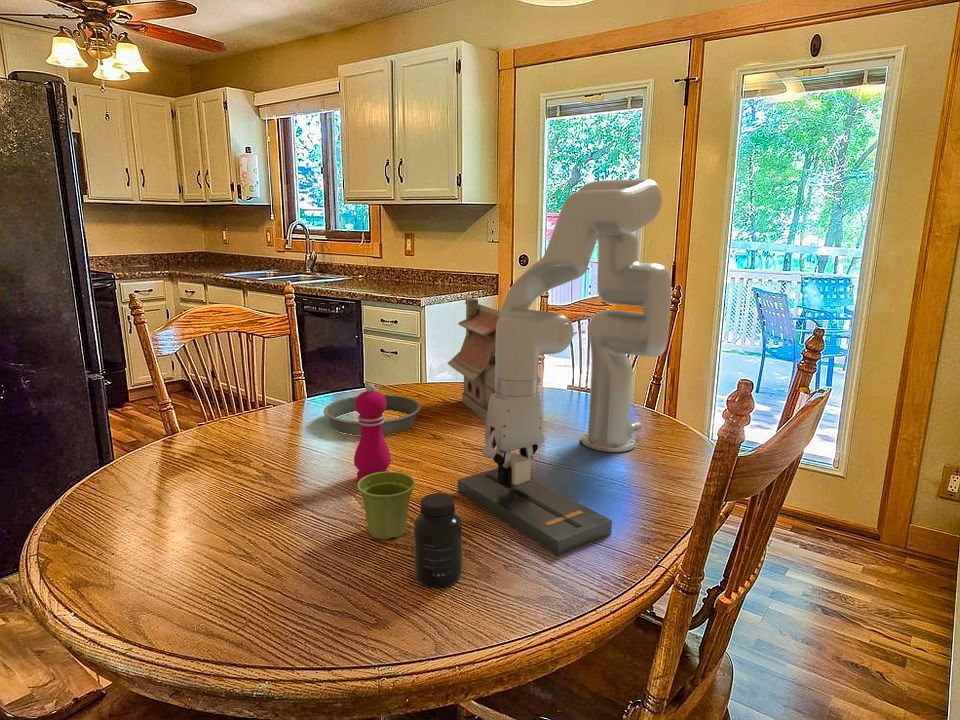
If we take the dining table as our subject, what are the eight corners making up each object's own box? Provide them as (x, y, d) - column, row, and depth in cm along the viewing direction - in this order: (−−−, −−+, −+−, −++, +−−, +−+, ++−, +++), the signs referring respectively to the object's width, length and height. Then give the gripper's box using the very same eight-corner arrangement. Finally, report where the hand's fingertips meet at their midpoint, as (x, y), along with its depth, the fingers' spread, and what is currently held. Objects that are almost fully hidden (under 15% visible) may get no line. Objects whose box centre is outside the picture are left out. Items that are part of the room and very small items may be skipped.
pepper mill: (383, 489, 115) (381, 389, 111) (348, 486, 117) (344, 387, 112) (396, 474, 122) (394, 380, 118) (363, 471, 124) (359, 378, 119)
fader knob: (497, 483, 111) (498, 455, 110) (512, 479, 113) (513, 451, 112) (514, 493, 107) (515, 463, 106) (529, 488, 109) (530, 459, 108)
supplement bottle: (415, 563, 90) (414, 489, 87) (460, 562, 91) (460, 488, 88) (414, 590, 83) (413, 511, 81) (463, 588, 84) (463, 510, 81)
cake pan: (374, 404, 171) (373, 389, 171) (440, 420, 157) (440, 404, 157) (304, 426, 152) (303, 409, 151) (372, 447, 138) (371, 428, 137)
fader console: (457, 491, 115) (457, 479, 114) (506, 477, 121) (507, 465, 121) (557, 556, 92) (558, 540, 92) (611, 534, 99) (612, 519, 99)
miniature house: (475, 426, 152) (476, 309, 146) (446, 401, 174) (446, 298, 168) (539, 419, 159) (543, 306, 152) (503, 395, 181) (505, 296, 174)
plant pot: (425, 523, 102) (424, 475, 101) (400, 550, 94) (399, 499, 92) (376, 514, 105) (375, 468, 104) (348, 539, 97) (346, 490, 95)
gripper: (537, 375, 113) (534, 466, 117) (465, 388, 104) (464, 486, 108) (565, 384, 107) (561, 479, 111) (490, 398, 98) (489, 501, 102)
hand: (513, 481), depth 110 cm, fingers closed on fader knob, 3 cm apart
